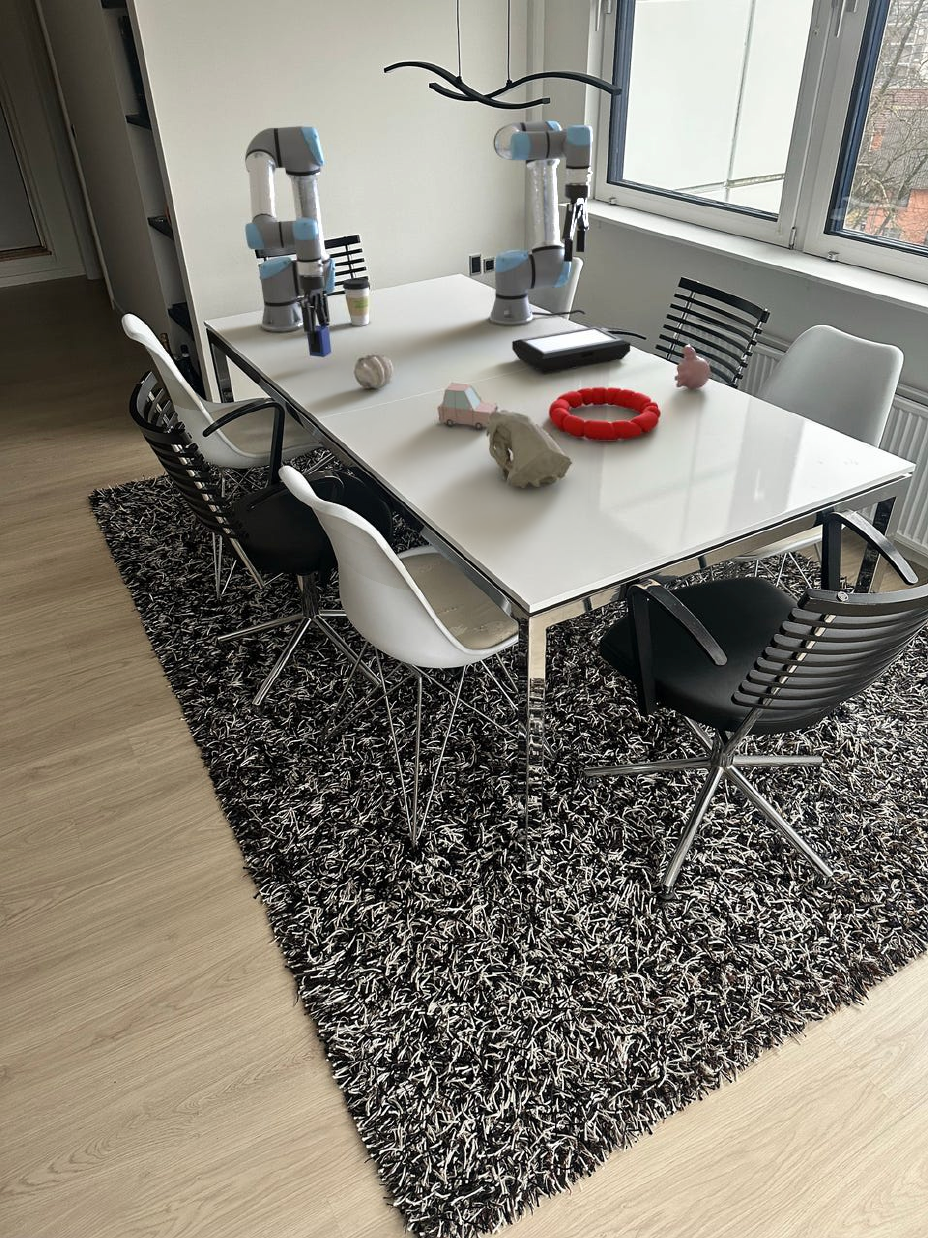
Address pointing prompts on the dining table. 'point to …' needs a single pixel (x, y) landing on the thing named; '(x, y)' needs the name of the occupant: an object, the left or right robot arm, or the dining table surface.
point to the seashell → (373, 371)
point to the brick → (321, 341)
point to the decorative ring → (604, 428)
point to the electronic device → (570, 349)
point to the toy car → (465, 406)
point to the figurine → (692, 370)
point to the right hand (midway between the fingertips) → (574, 256)
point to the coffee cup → (357, 300)
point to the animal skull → (525, 450)
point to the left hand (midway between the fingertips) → (320, 349)
